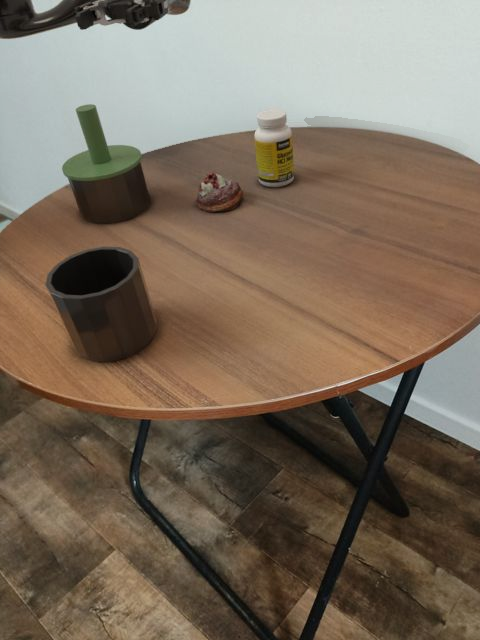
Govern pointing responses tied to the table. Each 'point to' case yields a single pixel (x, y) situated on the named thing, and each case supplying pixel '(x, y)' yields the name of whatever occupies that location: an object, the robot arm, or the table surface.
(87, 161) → the lid
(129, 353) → the cup
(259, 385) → the table surface
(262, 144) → the pill bottle
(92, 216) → the tin
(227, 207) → the pastry
